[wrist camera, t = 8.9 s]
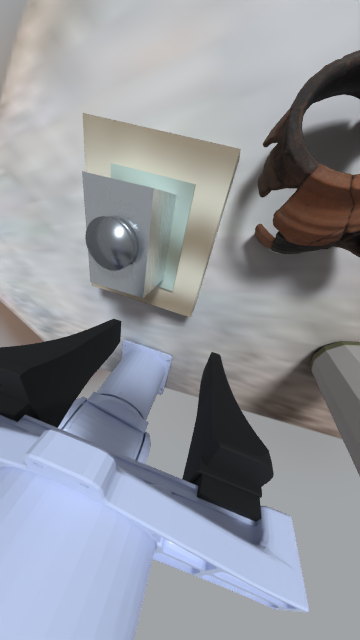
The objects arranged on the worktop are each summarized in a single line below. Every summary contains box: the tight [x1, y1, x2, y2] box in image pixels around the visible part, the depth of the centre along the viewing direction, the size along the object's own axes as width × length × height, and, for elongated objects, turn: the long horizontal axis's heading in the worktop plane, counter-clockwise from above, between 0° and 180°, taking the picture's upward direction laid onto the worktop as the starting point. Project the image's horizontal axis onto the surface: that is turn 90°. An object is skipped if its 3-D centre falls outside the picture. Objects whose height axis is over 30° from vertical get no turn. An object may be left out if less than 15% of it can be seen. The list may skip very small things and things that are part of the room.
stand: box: [83, 113, 240, 317], centre depth 18 cm, size 14×12×3 cm
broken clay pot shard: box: [255, 50, 360, 257], centre depth 13 cm, size 12×10×8 cm
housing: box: [82, 171, 177, 298], centre depth 14 cm, size 7×4×6 cm, turn 168°
